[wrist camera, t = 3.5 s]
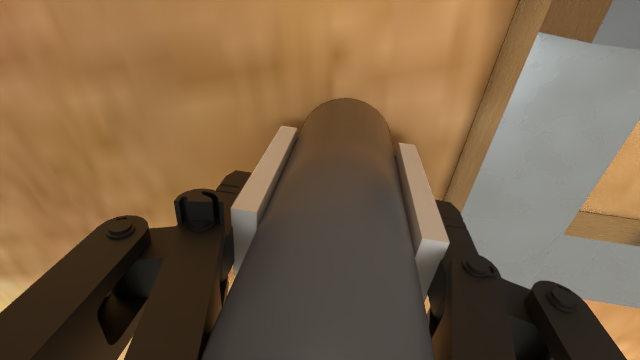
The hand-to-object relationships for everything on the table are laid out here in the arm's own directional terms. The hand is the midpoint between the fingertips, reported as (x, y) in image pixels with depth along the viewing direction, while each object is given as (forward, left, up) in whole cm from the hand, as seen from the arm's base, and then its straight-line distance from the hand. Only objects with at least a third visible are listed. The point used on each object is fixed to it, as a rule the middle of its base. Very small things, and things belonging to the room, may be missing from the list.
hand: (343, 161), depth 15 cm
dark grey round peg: (0, 0, -2) cm, 2 cm away
